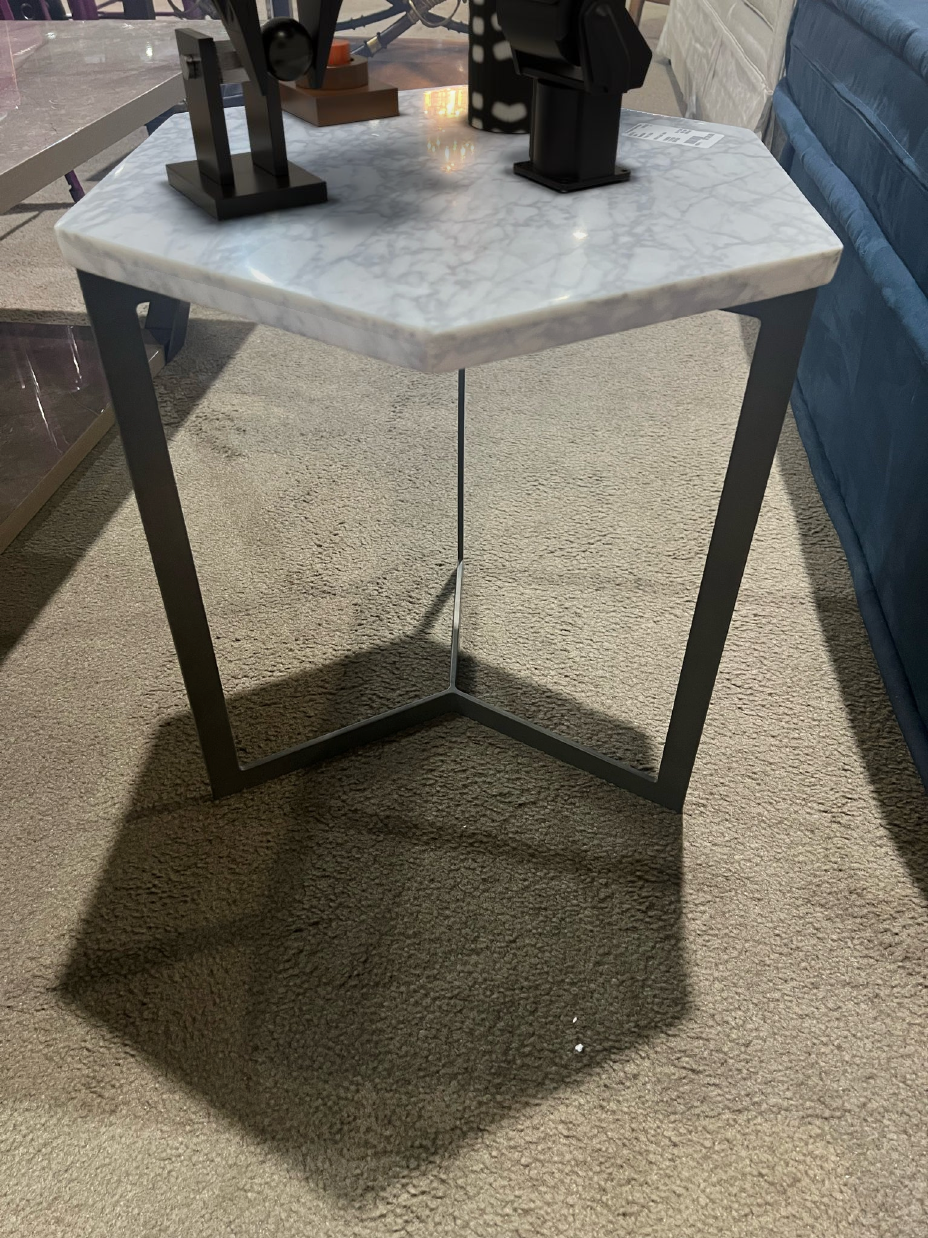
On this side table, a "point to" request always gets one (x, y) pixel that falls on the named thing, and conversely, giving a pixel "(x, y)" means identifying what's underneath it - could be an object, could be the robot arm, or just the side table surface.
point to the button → (340, 52)
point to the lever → (271, 53)
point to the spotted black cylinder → (494, 75)
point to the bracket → (217, 173)
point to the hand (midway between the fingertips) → (289, 91)
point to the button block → (341, 96)
